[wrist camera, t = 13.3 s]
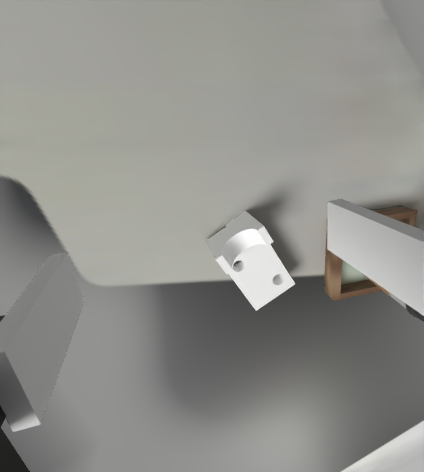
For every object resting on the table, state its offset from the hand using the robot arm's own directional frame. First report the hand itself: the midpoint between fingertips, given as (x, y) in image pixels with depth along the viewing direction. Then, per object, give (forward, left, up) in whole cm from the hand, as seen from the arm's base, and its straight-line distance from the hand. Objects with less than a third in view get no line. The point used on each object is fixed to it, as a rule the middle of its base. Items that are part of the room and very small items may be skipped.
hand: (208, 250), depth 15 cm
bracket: (+14, +10, -27) cm, 32 cm away
